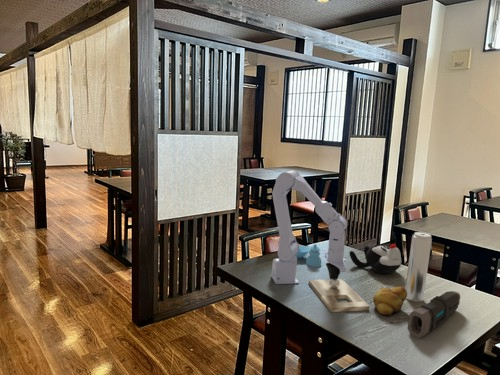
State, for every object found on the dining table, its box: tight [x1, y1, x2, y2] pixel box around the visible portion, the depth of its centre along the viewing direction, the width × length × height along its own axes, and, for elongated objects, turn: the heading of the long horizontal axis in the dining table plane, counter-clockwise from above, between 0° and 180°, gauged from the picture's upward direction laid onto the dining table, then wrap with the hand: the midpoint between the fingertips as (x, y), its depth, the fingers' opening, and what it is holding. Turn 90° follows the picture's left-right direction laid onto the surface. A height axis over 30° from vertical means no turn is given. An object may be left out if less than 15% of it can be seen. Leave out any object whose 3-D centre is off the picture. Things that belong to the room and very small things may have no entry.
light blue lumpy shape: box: [296, 244, 322, 268], centre depth 167 cm, size 18×10×9 cm, turn 37°
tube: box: [407, 290, 461, 339], centre depth 118 cm, size 11×7×30 cm
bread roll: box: [372, 286, 407, 316], centre depth 125 cm, size 13×10×8 cm
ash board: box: [308, 278, 370, 313], centre depth 133 cm, size 14×22×2 cm, turn 11°
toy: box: [348, 243, 402, 275], centre depth 160 cm, size 16×17×20 cm
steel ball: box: [329, 278, 340, 289], centre depth 136 cm, size 4×4×4 cm
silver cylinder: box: [404, 231, 433, 303], centre depth 133 cm, size 6×6×25 cm
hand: (333, 282), depth 137 cm, fingers closed, pressing on steel ball
